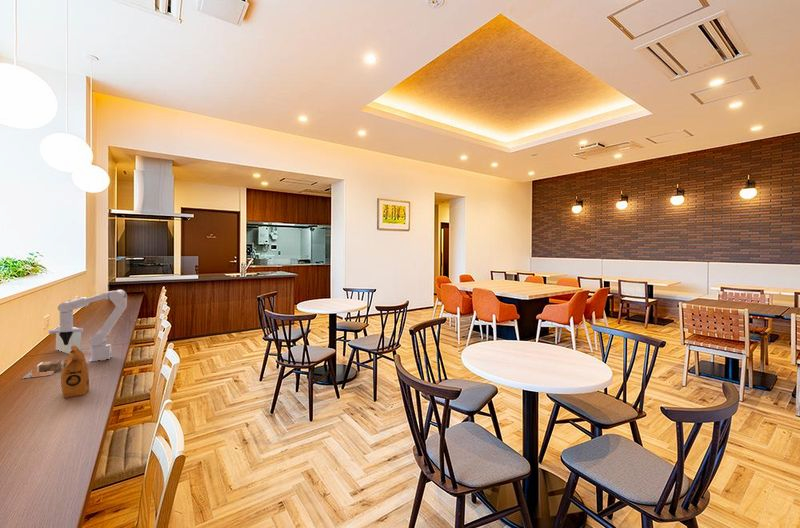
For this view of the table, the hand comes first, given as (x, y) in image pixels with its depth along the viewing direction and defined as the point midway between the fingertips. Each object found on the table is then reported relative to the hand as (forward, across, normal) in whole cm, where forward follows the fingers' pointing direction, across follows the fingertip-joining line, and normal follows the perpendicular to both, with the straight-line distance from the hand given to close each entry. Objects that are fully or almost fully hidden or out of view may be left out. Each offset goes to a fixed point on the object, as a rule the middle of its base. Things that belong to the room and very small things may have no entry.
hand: (66, 344), depth 203 cm
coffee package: (+10, -16, +58) cm, 61 cm away
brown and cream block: (+8, 0, +15) cm, 17 cm away
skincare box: (+11, +5, -26) cm, 29 cm away
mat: (+10, +6, +15) cm, 19 cm away
